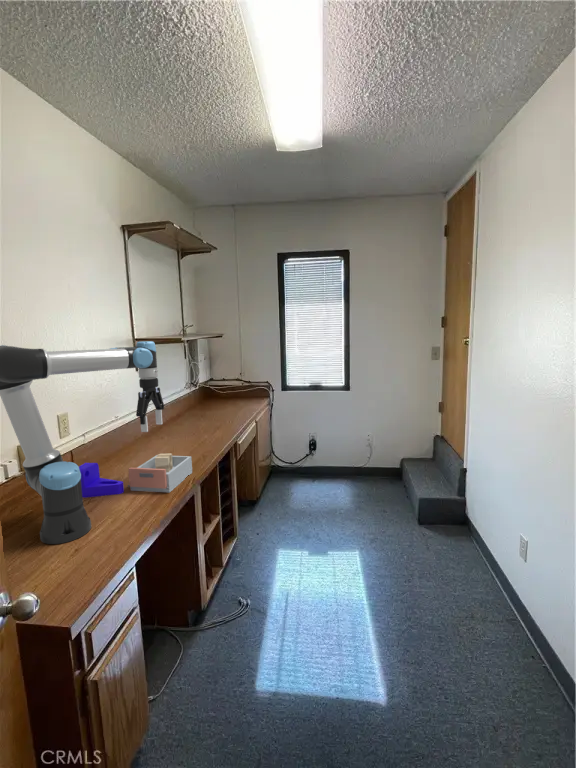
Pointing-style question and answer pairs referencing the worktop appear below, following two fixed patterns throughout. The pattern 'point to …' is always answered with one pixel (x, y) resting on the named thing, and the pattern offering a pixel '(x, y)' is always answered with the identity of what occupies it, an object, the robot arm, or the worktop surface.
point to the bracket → (97, 482)
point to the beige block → (164, 462)
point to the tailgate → (147, 477)
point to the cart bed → (169, 473)
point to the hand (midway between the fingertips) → (152, 427)
